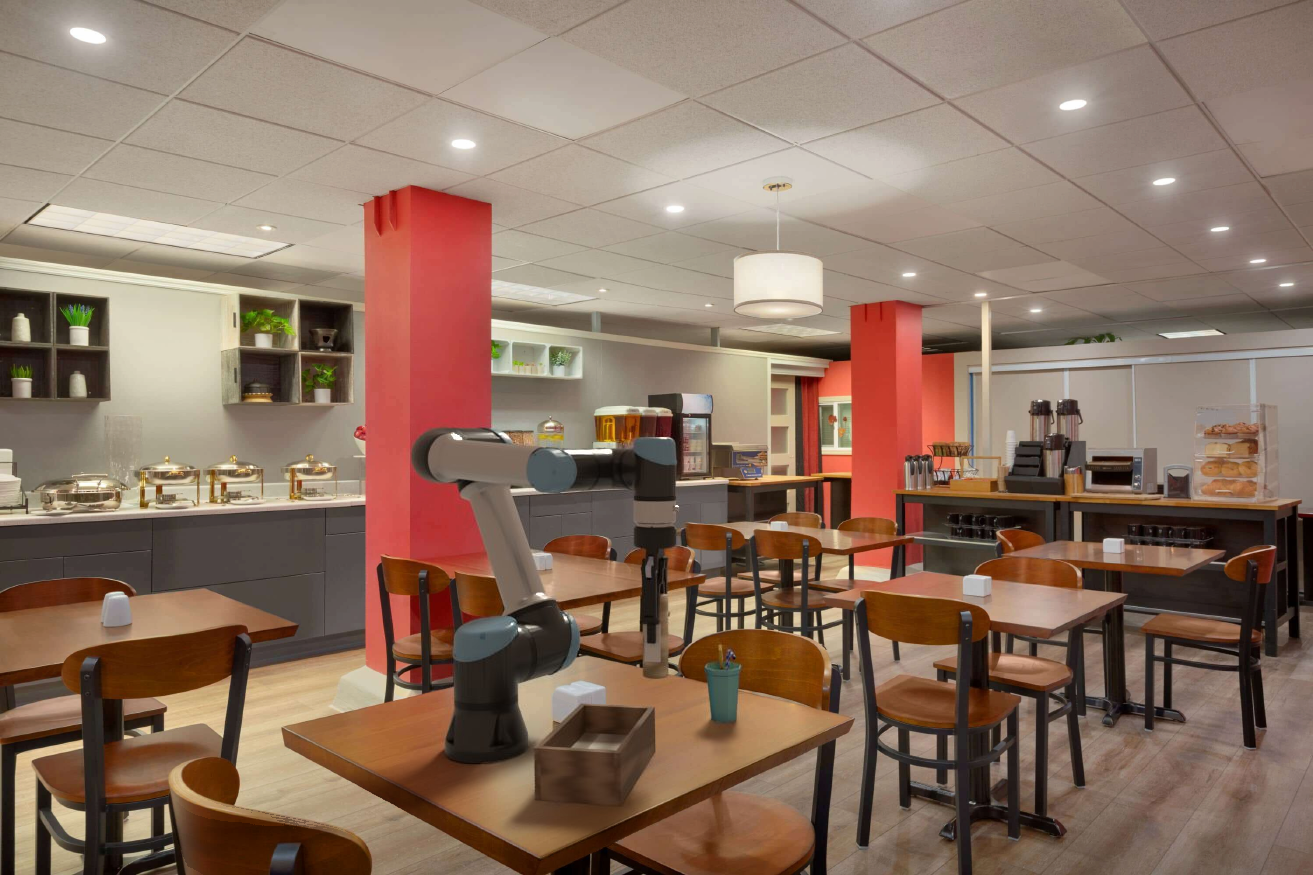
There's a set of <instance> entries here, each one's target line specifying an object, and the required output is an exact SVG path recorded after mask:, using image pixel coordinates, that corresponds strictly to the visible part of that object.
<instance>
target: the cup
mask: <svg viewBox="0 0 1313 875" xmlns="http://www.w3.org/2000/svg"><path fill="white" fill-rule="evenodd" d="M723 656H724V655H723V646H722V644H718V660H719V661H713V662H708V663H706V664H705V666H704V673H705V674H706V681H707V682H706V683H707V691H708V699H709V708H710V710H709V711H710V719H711V720H712V721H714V722H715V723H727V724H728V723H731V722H736V721H737V719H738V701H739V685H740V684H739V682H740V673H741V671H742V670H741V669H742V665H741V664H740V663H736V662H733V661H734V660H736V659H737V658H736V655H735V653H734V652H733V651H732V649H727V651H726V654H725V661H724V657H723ZM730 660H732V661H730Z"/></svg>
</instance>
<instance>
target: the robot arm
mask: <svg viewBox="0 0 1313 875" xmlns="http://www.w3.org/2000/svg"><path fill="white" fill-rule="evenodd" d="M632 446H633V447H632V448H619V447H617V448H616V447H614V448H613V447H611V448H610V447H596V448H589V447H588V448H570V447H569V448H567V447H566V448H565V447H552V446H540V445H539V446H537V445H526V444H525V445H524V444H516V443H515V444H514V442H513V440H512V439H511V437H509V436H508V435H507V434H506V433H505V432H503V431H501V430H500V429H497V428H489V427H484V426H482V427H480V426H479V427H476V428H475V427H473V428H472V427H447V426H445V427H444V426H443V427H442V426H441V427H435V428H434V427H433V428H430V429H428V430H426V431H425V432H423V433H422V434H420V435H419V436H418V437H417V438H416V440H415V441H414V443H413V444H412V447H411V452H410V461H411V465H412V468H413V470H414V471H415V472H416V474H417V475H418V476H420V478H422V479H423V480H426V481H427V482H429V483H430V482H431V483H433V484H444V485H445V484H456V486H457V489H458V493H459V496H460V497H461V499H464V500H466V501H468V502H469V503H470V505H471V508H472V512H473V515H474V517H475V521H476V524H477V526H478V529H479V533H480V536H481V539H482V542H483V545H484V548H485V551H486V552H485V553H486V554H487V558H488V561H489V563H490V566H491V571H492V572H493V576H494V579H495V582H496V585H497V588H498V591H499V594H500V597H501V599H502V600H501V602H502V604H503V607H504V611H503V612H502V614H501V615H491V616H488V617H480V618H476V619H473V620H470V621H468V622H466V623H463V624H462V625H460V626H459V627H458V628H457V629H456V631H455V632H454V633H455V634H454V636H453V648H452V657H453V701H454V702H453V705H454V706H453V707H454V708H453V712H452V716H451V719H450V722H449V725H448V729H447V732H446V736H445V739H444V756H446V757H447V758H448V759H450V760H452V761H455V762H459V763H467V764H486V763H488V764H489V763H495V762H500V761H501V762H502V761H505V760H508V759H512V758H515V757H517V756H520V755H521V754H523V753H525V752H526V751H528V750H527V749H528V748H529V734H528V728H527V726H526V723H525V721H524V717H523V714H522V711H521V709H520V706H519V684H521V683H526V682H529V681H532V680H534V679H538V678H541V677H546V676H553V675H555V674H556V673H559V672H561V671H563V670H565V669H567V668H569V667H570V666H571V665H572V664H573V663H574V661H576V658H577V655H578V651H579V650H580V645H581V633H580V629H579V625H578V623H577V621H576V619H575V618H574V617H573V615H570V613H569V612H567V611H564V610H563V611H562V610H560V608H559V605H558V603H557V600H556V598H555V597H553V596H550V595H549V594H547V593H546V591H545V587H544V585H543V582H542V579H541V576H540V573H539V571H538V568H537V564H536V561H535V559H534V556H533V553H532V549H531V548H530V545H529V541H528V538H527V536H526V532H525V529H524V527H523V524H522V521H521V519H520V518H521V517H520V515H519V511H518V509H517V506H516V504H515V501H514V497H513V494H512V491H511V487H512V486H514V487H521V488H529V489H534V490H535V491H537V492H539V493H543V494H544V493H546V494H560V493H567V492H568V493H569V492H587V491H590V492H591V491H605V490H608V491H609V490H624V491H625V490H626V491H627V490H630V491H633V522H634V524H636V525H635V526H634V527H633V545H634V547H636V548H637V549H644V550H645V556H644V558H642V562H641V566H640V571H641V572H640V573H641V574H640V575H641V619H640V620H639V624H640V625H643V624H644V662H660V661H661V623H659V607H660V594H667V595H668V567H669V566H668V565H669V556H667V555H665V554H666V553H665V551H666V550H665V549H673V548H675V547H676V546H677V527H676V526H675V525H673V524H674V523H676V522H677V512H679V511H680V509H681V508H680V506H679V505H676V504H677V494H676V490H677V485H676V484H677V465H678V460H677V449H676V448H677V447H676V442H675V439H673V438H672V437H669V436H667V437H666V436H665V437H661V436H660V437H657V436H656V437H654V436H653V437H651V436H649V437H648V436H645V437H642V436H641V437H636V438H635V439H634V440H633V445H632ZM648 615H649V616H648ZM670 616H671V612H670V611H668V618H669V617H670Z"/></svg>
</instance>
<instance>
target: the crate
mask: <svg viewBox="0 0 1313 875" xmlns="http://www.w3.org/2000/svg"><path fill="white" fill-rule="evenodd" d="M655 709H656V707H655V706H642V705H641V706H640V705H625V704H624V705H621V704H619V705H618V704H601V703H596V704H595V703H582V702H581V703H580V704H579V705H578V706H576V707H575V708H574V710H573V711H571V713H569V714H568V715H567V716H566V717H565V718H564V719H563V720H562V721H561V722H559V724H557V725H556V727H555V728H554V729H552V731H551V732H549V733H548V734H547V735H546V736H545V737H544V738H543V739H542V740H541V741H540V742H539V743H538V744H537V745H535V747H533V753H534V754H533V757H534V758H533V759H534V760H533V761H534V762H533V763H534V764H533V765H534V766H533V767H534V772H533V773H534V800H535V801H536V800H537V801H548V802H561V803H562V802H563V803H573V804H588V805H589V804H590V805H601V806H614V807H615V806H617V807H622V806H623V805H624V802H625V801H626V799H627V798H628V797H629V794H630V793H631V791H632V789H633V788H634V787H635V785H636V783H637V781H638V780H639V779H640V777H641V776H642V774H643V772H644V771H645V769H646V768H647V766H648V764H649V762H650V761H651V760H652V758H653V756H654V755H655V753H656V748H657V747H656V710H655Z"/></svg>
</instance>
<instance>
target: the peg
mask: <svg viewBox="0 0 1313 875" xmlns="http://www.w3.org/2000/svg"><path fill="white" fill-rule="evenodd" d="M668 612H669V594H668V593H667V594H660V607H659V623H661V661H660V662H644V624H642V677H643V678H646V679H650V680H660V679H665V678H668V677H669V617H668ZM648 616H649V615H648Z"/></svg>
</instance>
